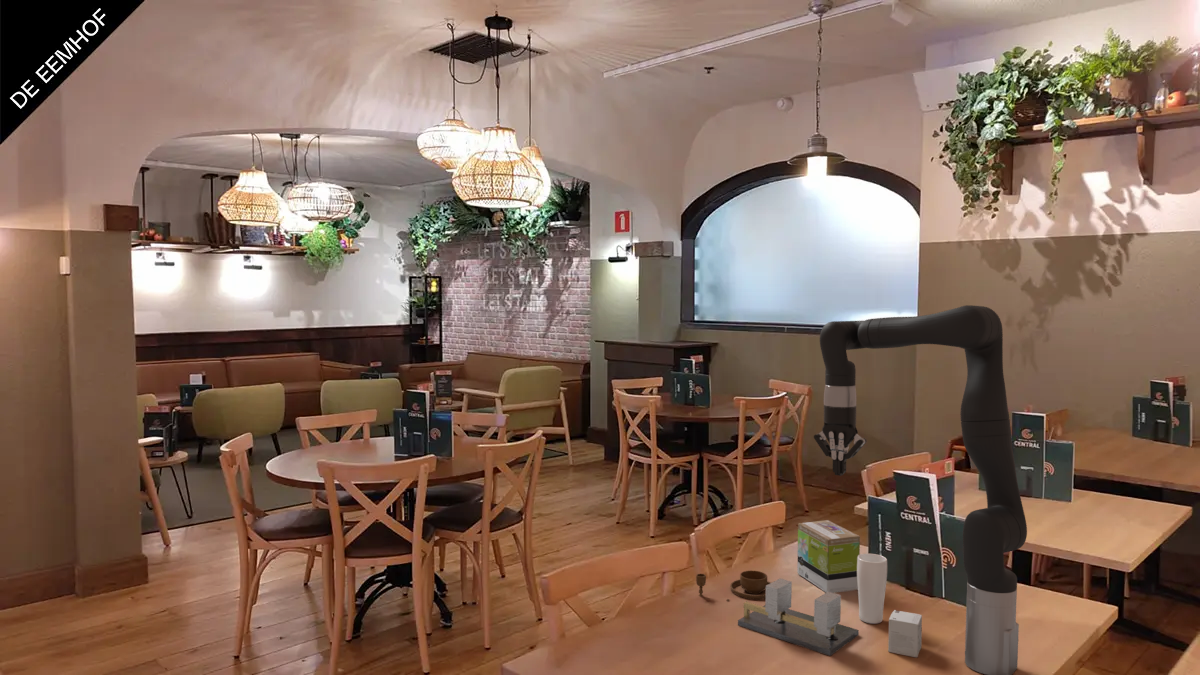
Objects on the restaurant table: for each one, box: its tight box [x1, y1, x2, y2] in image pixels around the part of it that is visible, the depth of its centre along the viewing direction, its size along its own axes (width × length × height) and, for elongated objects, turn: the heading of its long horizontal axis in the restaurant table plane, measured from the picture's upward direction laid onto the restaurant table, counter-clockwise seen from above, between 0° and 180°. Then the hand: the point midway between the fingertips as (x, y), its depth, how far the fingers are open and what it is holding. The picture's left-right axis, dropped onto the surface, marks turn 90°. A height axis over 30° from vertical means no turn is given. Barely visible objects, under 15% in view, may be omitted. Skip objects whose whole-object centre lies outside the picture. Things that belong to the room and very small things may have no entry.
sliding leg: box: [764, 578, 793, 622], centre depth 181 cm, size 3×6×10 cm, turn 138°
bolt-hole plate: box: [737, 605, 860, 657], centre depth 182 cm, size 23×14×1 cm, turn 48°
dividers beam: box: [743, 592, 842, 639], centre depth 179 cm, size 22×6×10 cm, turn 48°
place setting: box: [695, 570, 771, 603], centre depth 206 cm, size 18×20×6 cm
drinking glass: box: [857, 553, 888, 625], centre depth 187 cm, size 7×7×15 cm
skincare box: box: [887, 609, 923, 658], centre depth 172 cm, size 6×6×7 cm
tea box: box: [797, 519, 861, 594], centre depth 212 cm, size 15×10×15 cm
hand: (839, 474), depth 192 cm, fingers closed
